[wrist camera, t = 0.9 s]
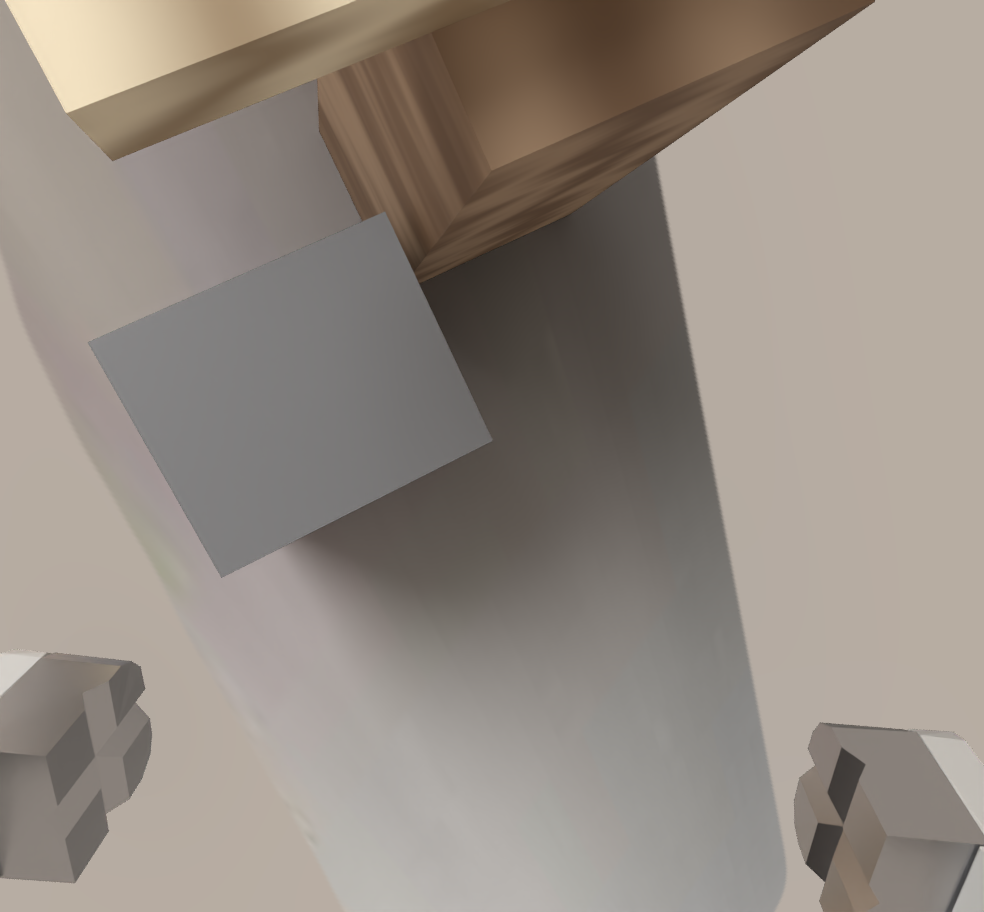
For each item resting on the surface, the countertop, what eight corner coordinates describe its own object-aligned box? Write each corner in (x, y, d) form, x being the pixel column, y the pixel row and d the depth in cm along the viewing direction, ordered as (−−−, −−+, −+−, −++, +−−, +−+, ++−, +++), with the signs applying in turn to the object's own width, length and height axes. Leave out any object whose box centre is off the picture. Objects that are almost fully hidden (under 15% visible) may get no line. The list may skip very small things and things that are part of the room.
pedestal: (397, 293, 44) (491, 170, 18) (319, 131, 42) (305, -255, 17) (571, 213, 45) (875, 1, 20) (503, 54, 44) (745, -399, 18)
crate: (257, 512, 43) (221, 577, 29) (172, 356, 41) (87, 342, 27) (439, 422, 45) (492, 440, 30) (365, 269, 43) (384, 211, 29)
